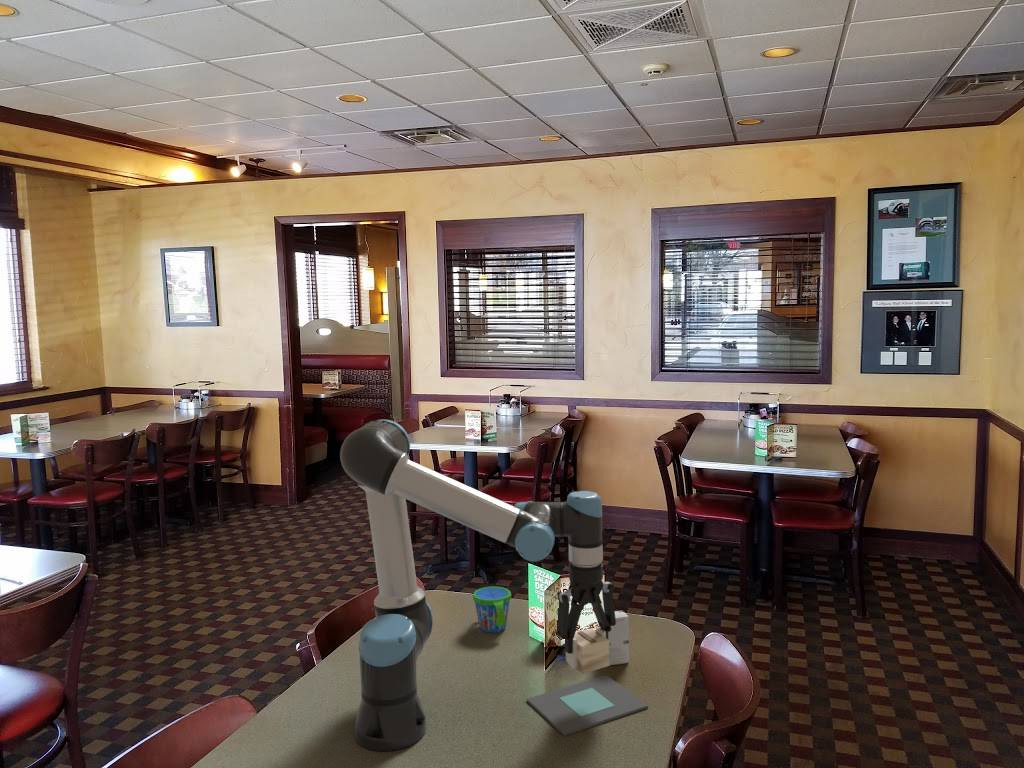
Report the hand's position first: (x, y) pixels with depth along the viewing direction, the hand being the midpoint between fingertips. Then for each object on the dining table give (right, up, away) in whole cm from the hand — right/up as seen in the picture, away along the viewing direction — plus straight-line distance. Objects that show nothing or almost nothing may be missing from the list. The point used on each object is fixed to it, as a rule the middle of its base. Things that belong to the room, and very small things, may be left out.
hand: (587, 661), depth 167 cm
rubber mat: (0, -10, +1) cm, 10 cm away
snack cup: (-22, -6, +42) cm, 48 cm away
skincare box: (+9, -8, +22) cm, 25 cm away
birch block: (0, 0, 0) cm, 0 cm away
